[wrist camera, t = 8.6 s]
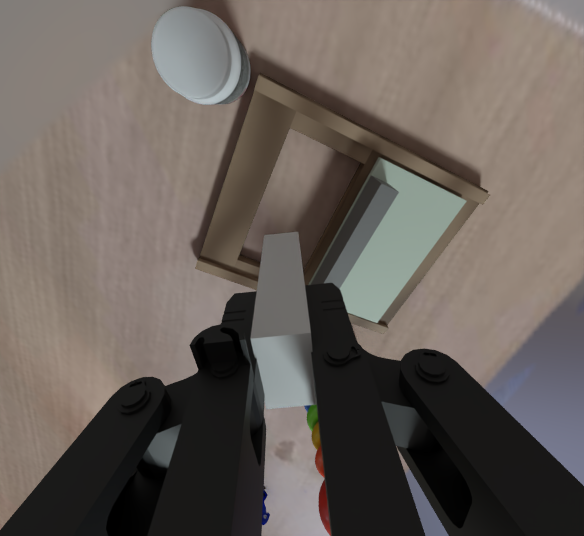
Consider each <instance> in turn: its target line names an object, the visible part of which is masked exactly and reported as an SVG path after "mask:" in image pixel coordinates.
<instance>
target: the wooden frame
mask: <svg viewBox="0 0 584 536" xmlns="http://www.w3.org/2000/svg"><path fill="white" fill-rule="evenodd" d="M290 128H291V129H293V130H296V131H298V132H300V133H302V134H304V135H306V136H308V137H310V138H312V139H314V140H316V141H318V142H320V143H322V144H324V145H326V146H328V147H330V148H332V149H334V150H337V151H339V152H341V153H343V154H345V155H347V156H349V157H351V158H353V159H355V160H357V161H359V162H361V164H360V166H359V168H358V170H357V171H356V173H355V175H354V177H353V179H352V181H351V183H350V185H349V187H348V188H347V190H346V192H345V194H344V196H343V198H342V200H341V202H340V204H339V205H338V207H337V209H336V211H335V213H334V215H333V217H332V219H331V221H330V222H329V224H328V226H327V228H326V230H325V232H324V234H323V236H322V238H321V239H320V241H319V243H318V245H317V247H316V249H315V251H314V253H313V255H312V256H311V258H310V260H309V262H308V264H307V266H306V268H305V270H304V272H303V274H304V282H305V285H308V284H309V282H310V281H311V279H312V277H313V275H314V273H315V271H316V270H317V268H318V266H319V264H320V262H321V261H322V259H323V257H324V255H325V253H326V252H327V250H328V248H329V246H330V244H331V242H332V241H333V239H334V237H335V235H336V233H337V232H338V230H339V228H340V226H341V224H342V223H343V221H344V219H345V217H346V215H347V213H348V212H349V210H350V208H351V206H352V204H353V203H354V201H355V199H356V197H357V195H358V193H359V192H360V190H361V188H362V186H363V184H364V183H365V181H366V179H367V177H368V175H369V174H370V172H371V170H372V168H373V166H374V164H375V163H376V161H377V159H378V157H380V158H382V159H384V160H386V161H388V162H390V163H392V164H394V165H396V166H398V167H400V168H402V169H404V170H406V171H408V172H410V173H412V174H414V175H416V176H418V177H420V178H422V179H424V180H426V181H428V182H430V183H432V184H434V185H436V186H438V187H440V188H442V189H444V190H446V191H448V192H450V193H452V194H454V195H456V196H458V197H460V198H462V199H464V200H466V203H465V204H464V205H463V207H462V208H461V210H460V211H459V212H458V214H457V215H456V216H455V218H454V219H453V220H452V222H451V223H450V225H449V226H448V227H447V229H446V230H445V231H444V233H443V234H442V235H441V237H440V238H439V240H438V241H437V242H436V244H435V245H434V246H433V248H432V249H431V250H430V252H429V253H428V255H427V256H426V257H425V259H424V260H423V261H422V263H421V264H420V265H419V267H418V268H417V270H416V271H415V272H414V274H413V275H412V276H411V278H410V279H409V280H408V282H407V283H406V284H405V286H404V287H403V289H402V290H401V291H400V293H399V294H398V295H397V297H396V298H395V299H394V301H393V302H392V304H391V305H390V306H389V308H388V309H387V310H386V312H385V313H384V314H383V316H382V317H381V319H380V320H379V321H378V323H375V322H372V321H370V320H367V319H364V318H361V317H358V316H356V315H353V314H350V313H348V316H349V319H350V322H351V323H352V324H355V325H358V326H361V327H364V328H367V329H370V330H373V331H375V332H378V333H381V334H384V333H385V332H386V331H387V329H388V326H387V325H388V323H389V322H390V321H391V319H392V318H393V317H394V316H395V314H396V313H397V312H398V310H399V309H400V308H401V306H402V305H403V304H404V302H405V301H406V300H407V298H408V297H409V296H410V294H411V293H412V292H413V290H414V289H415V288H416V286H417V285H418V284H419V283H420V281H421V280H422V279H423V277H424V276H425V275H426V273H427V272H428V271H429V269H430V268H431V267H432V265H433V264H434V263H435V261H436V260H437V259H438V257H439V256H440V255H441V253H442V252H443V251H444V249H445V248H446V247H447V246H448V244H449V243H450V242H451V240H452V239H453V238H454V236H455V235H456V234H457V232H458V231H459V230H460V228H461V227H462V226H463V224H464V223H465V222H466V220H467V219H468V218H469V216H470V215H471V214H472V213H473V211H474V210H475V209H476V207H477V206H478V205H479V203H480V204H482V205H483V204H484V203H485V201H486V200H487V199H488V197H489V196H490V194H488V191H487V190H485V189H483V188H481V187H479V186H477V185H476V184H474V183H472V182H470V181H468V180H466V179H464V178H462V177H460V176H458V175H456V174H454V173H452V172H451V171H449V170H447V169H445V168H443V167H441V166H439V165H437V164H435V163H433V162H431V161H429V160H427V159H425V158H424V157H422V156H420V155H418V154H416V153H414V152H412V151H410V150H408V149H406V148H404V147H402V146H400V145H399V144H397V143H395V142H393V141H391V140H389V139H387V138H385V137H383V136H381V135H379V134H377V133H375V132H374V131H372V130H370V129H368V128H366V127H364V126H362V125H360V124H358V123H356V122H354V121H352V120H350V119H348V118H347V117H345V116H343V115H341V114H339V113H337V112H335V111H333V110H331V109H329V108H327V107H325V106H323V105H322V104H320V103H318V102H316V101H314V100H312V99H310V98H308V97H306V96H304V95H302V94H300V93H298V92H297V91H295V90H293V89H291V88H289V87H287V86H285V85H283V84H281V83H279V82H277V81H275V80H273V79H271V78H270V77H268V76H266V75H264V74H262V73H260V75H259V76H258V79H257V82H256V85H255V88H254V93H253V96H252V99H251V102H250V105H249V108H248V111H247V114H246V117H245V120H244V123H243V126H242V130H241V133H240V136H239V139H238V142H237V145H236V148H235V151H234V154H233V157H232V160H231V163H230V166H229V169H228V172H227V175H226V178H225V181H224V184H223V187H222V190H221V193H220V196H219V199H218V202H217V205H216V208H215V211H214V214H213V217H212V221H211V224H210V227H209V230H208V233H207V236H206V239H205V242H204V245H203V248H202V251H201V254H200V257H199V259H198V261H197V264H196V268H195V269H198V270H200V271H203V272H206V273H209V274H212V275H215V276H218V277H221V278H223V279H226V280H229V281H232V282H235V283H238V284H241V285H243V286H246V287H249V288H252V289H255V290H257V286H258V278H259V271H260V263H261V262H258V261H255V260H253V259H250V258H247V257H245V256H242V255H239V254H240V251H241V249H242V246H243V244H244V241H245V239H246V236H247V234H248V231H249V229H250V226H251V224H252V221H253V219H254V216H255V214H256V211H257V209H258V206H259V204H260V201H261V199H262V196H263V194H264V191H265V189H266V186H267V184H268V181H269V179H270V176H271V174H272V171H273V169H274V166H275V164H276V161H277V159H278V156H279V154H280V151H281V149H282V146H283V144H284V141H285V139H286V136H287V134H288V131H289V129H290Z"/></svg>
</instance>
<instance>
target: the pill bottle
mask: <svg viewBox="0 0 584 536" xmlns="http://www.w3.org/2000/svg"><path fill="white" fill-rule="evenodd" d="M151 48H152V56H153V60H154V63H155V66H156V68H157V70H158V72H159V74H160V76H161V77H162V79H163V80H164V81H165V82H166V84H167V85H168V86H169V87H170V88H172V89H173V90H174V91H176V92H177V93H179V94H181V95H182V96H184V97H185V98H187V99H188V100H190V101H192V102H195V103H198V104H204V105H210V104H229V103H232V102H234V101H236V100H238V99H239V98H240V97H241V96H242V95H243V94H244V92H245V91H246V89H247V87H248V84H249V80H250V73H251V70H250V62H249V58H248V55H247V52H246V50H245V49H244V47H243V45H242V44H241V42H240V41H239V40H238V39H237V37H236V36H235V35H234V33H233V32H232V31H231V29H230V28H229V27H228V25H227V24H226V23H225V22H224V21H223V20H222V19H220V18H219V17H218V16H216V15H215V14H213V13H211V12H209V11H206V10H203V9H198V8H193V7H188V6H178V7H175V8H172V9H170V10H168V11H166V12H165V13H164V14H163V15H162V16H161V17H160V18H159V20H158V21H157V23H156V25H155V27H154V30H153V34H152V41H151Z"/></svg>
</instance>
